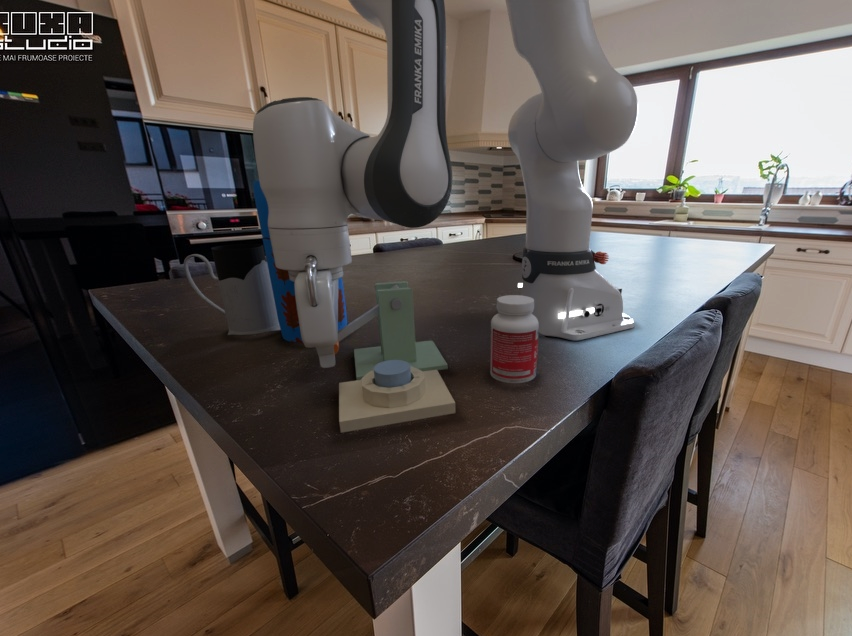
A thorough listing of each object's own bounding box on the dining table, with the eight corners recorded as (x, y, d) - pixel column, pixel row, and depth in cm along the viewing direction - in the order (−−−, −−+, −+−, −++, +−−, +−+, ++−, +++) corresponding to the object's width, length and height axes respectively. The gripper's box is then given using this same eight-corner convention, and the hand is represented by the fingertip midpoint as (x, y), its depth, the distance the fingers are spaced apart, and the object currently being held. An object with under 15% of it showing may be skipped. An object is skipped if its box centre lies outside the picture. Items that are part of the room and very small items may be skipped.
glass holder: (267, 340, 67) (248, 250, 61) (184, 340, 67) (158, 250, 62) (291, 324, 75) (276, 243, 70) (217, 323, 75) (197, 243, 70)
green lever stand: (357, 387, 51) (346, 298, 47) (354, 358, 60) (345, 281, 56) (447, 374, 54) (445, 290, 50) (432, 348, 63) (429, 275, 59)
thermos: (326, 350, 63) (301, 180, 54) (267, 345, 65) (233, 180, 56) (359, 328, 73) (342, 182, 64) (307, 324, 75) (283, 182, 66)
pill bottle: (542, 386, 51) (547, 304, 47) (496, 391, 50) (498, 307, 46) (526, 367, 57) (530, 292, 53) (485, 371, 55) (485, 294, 51)
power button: (408, 371, 47) (407, 357, 46) (413, 386, 43) (413, 371, 43) (373, 376, 46) (372, 362, 45) (376, 391, 42) (375, 376, 42)
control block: (437, 384, 52) (436, 356, 50) (455, 419, 44) (454, 387, 42) (341, 398, 48) (337, 369, 47) (341, 440, 40) (336, 405, 39)
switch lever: (331, 359, 51) (318, 346, 49) (332, 343, 56) (320, 331, 55) (410, 305, 52) (400, 290, 50) (404, 295, 57) (394, 281, 56)
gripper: (340, 262, 40) (356, 384, 45) (339, 240, 58) (351, 328, 63) (272, 266, 38) (296, 393, 43) (293, 242, 56) (308, 333, 61)
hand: (329, 354), depth 53 cm, fingers closed on switch lever, 6 cm apart
